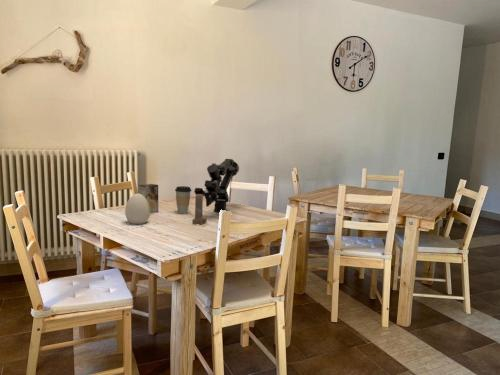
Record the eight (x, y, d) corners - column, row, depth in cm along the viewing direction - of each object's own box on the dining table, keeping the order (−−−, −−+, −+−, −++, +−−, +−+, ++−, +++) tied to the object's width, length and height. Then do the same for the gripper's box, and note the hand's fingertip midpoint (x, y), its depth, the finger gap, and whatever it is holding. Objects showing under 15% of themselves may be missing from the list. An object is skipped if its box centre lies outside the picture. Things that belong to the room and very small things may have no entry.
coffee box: (151, 210, 224) (151, 183, 222) (158, 212, 221) (158, 184, 218) (138, 212, 217) (138, 184, 215) (145, 214, 213) (145, 186, 211)
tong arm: (197, 216, 199) (197, 194, 197) (202, 217, 198) (203, 194, 196) (195, 217, 198) (196, 194, 196) (201, 217, 197) (202, 195, 195)
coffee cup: (171, 212, 220) (171, 187, 218) (181, 210, 228) (181, 185, 226) (184, 215, 216) (184, 189, 213) (194, 212, 224) (194, 187, 222)
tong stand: (197, 221, 203) (198, 194, 201) (206, 222, 202) (207, 194, 200) (192, 224, 196) (193, 196, 194) (201, 225, 195) (202, 196, 193)
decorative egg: (155, 222, 197) (155, 193, 195) (137, 226, 187) (137, 196, 185) (138, 218, 203) (138, 190, 201) (120, 222, 193) (119, 193, 191)
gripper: (195, 173, 212) (187, 196, 204) (227, 176, 207) (219, 199, 199) (201, 185, 221) (192, 207, 212) (231, 188, 216) (224, 210, 207)
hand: (207, 206), depth 207 cm, fingers closed
